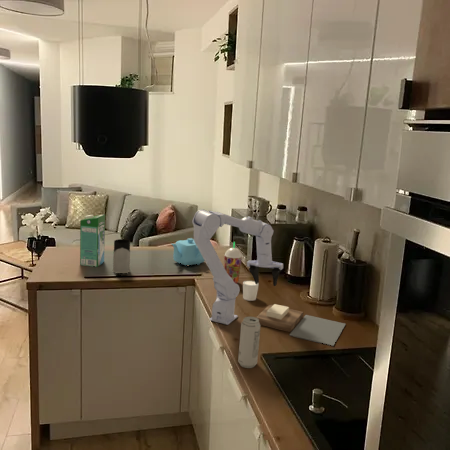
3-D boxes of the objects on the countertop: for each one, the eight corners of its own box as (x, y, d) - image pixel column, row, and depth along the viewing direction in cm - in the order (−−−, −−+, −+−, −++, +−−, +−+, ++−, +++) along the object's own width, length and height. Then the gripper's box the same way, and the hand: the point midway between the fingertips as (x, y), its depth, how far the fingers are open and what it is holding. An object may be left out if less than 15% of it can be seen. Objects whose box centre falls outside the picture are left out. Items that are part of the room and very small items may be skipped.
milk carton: (87, 260, 247) (88, 212, 242) (104, 262, 246) (105, 214, 241) (79, 265, 238) (80, 215, 233) (97, 267, 237) (98, 217, 232)
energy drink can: (241, 357, 155) (245, 314, 152) (259, 362, 153) (263, 318, 150) (235, 365, 150) (238, 320, 147) (253, 370, 148) (257, 325, 145)
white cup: (256, 302, 205) (257, 286, 204) (240, 299, 207) (241, 284, 205) (258, 296, 212) (259, 281, 210) (243, 294, 213) (244, 279, 212)
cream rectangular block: (281, 319, 182) (281, 314, 182) (266, 316, 184) (266, 311, 184) (288, 311, 190) (288, 307, 190) (274, 308, 192) (274, 303, 192)
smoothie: (234, 287, 222) (237, 245, 218) (219, 283, 226) (221, 241, 222) (243, 282, 229) (246, 242, 225) (228, 278, 233) (231, 238, 229)
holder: (112, 274, 228) (112, 243, 225) (111, 265, 242) (112, 236, 239) (131, 273, 231) (131, 243, 227) (129, 265, 244) (130, 236, 241)
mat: (333, 346, 168) (333, 345, 168) (289, 335, 175) (289, 334, 174) (345, 324, 188) (345, 323, 188) (305, 315, 194) (305, 314, 194)
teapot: (177, 257, 263) (178, 233, 260) (207, 260, 261) (208, 236, 258) (169, 267, 246) (170, 241, 243) (200, 270, 243) (202, 244, 241)
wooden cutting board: (290, 332, 177) (291, 325, 177) (255, 323, 183) (255, 317, 182) (302, 317, 192) (303, 311, 191) (269, 310, 197) (269, 304, 197)
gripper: (285, 250, 189) (286, 281, 193) (250, 247, 195) (252, 278, 199) (279, 256, 183) (281, 289, 187) (244, 253, 189) (246, 285, 193)
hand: (266, 284), depth 192 cm, fingers open, 7 cm apart
